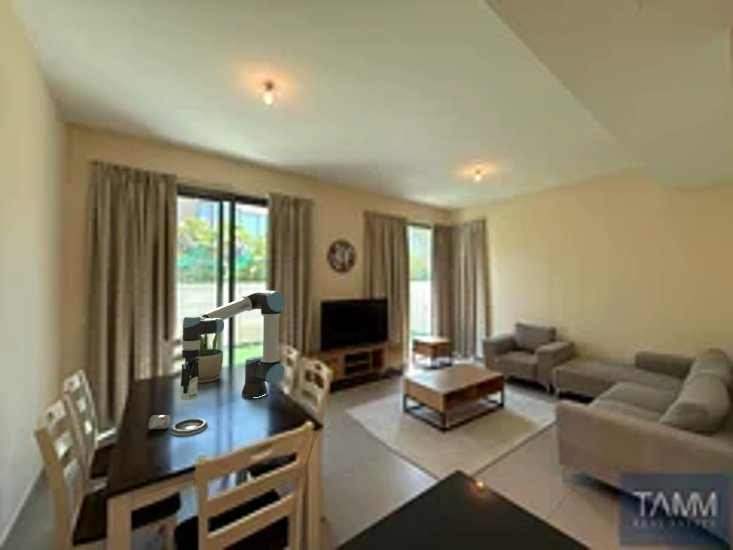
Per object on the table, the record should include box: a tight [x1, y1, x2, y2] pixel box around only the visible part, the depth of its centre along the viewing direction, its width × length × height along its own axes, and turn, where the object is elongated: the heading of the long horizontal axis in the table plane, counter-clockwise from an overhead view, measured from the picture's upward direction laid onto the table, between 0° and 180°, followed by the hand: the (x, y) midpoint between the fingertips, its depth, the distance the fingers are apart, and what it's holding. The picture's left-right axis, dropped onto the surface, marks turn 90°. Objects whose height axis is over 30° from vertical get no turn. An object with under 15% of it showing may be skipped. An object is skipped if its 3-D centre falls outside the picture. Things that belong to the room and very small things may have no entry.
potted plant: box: [196, 333, 224, 384], centre depth 240 cm, size 21×22×40 cm
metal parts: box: [148, 414, 209, 437], centre depth 165 cm, size 25×16×6 cm, turn 95°
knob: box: [180, 375, 199, 401], centre depth 166 cm, size 7×7×9 cm
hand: (189, 396), depth 166 cm, fingers closed on knob, 7 cm apart
